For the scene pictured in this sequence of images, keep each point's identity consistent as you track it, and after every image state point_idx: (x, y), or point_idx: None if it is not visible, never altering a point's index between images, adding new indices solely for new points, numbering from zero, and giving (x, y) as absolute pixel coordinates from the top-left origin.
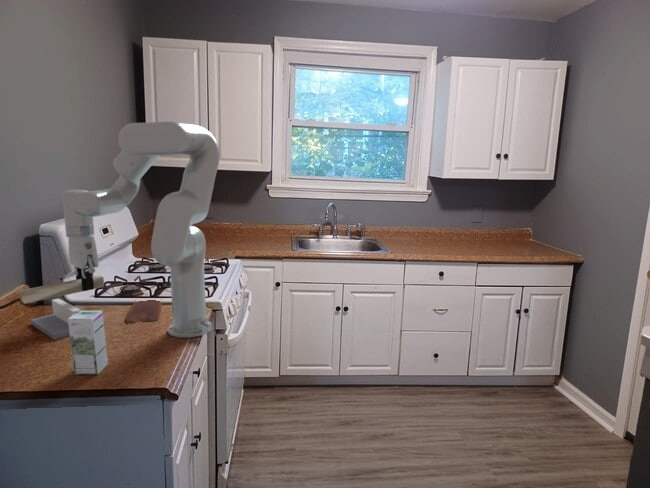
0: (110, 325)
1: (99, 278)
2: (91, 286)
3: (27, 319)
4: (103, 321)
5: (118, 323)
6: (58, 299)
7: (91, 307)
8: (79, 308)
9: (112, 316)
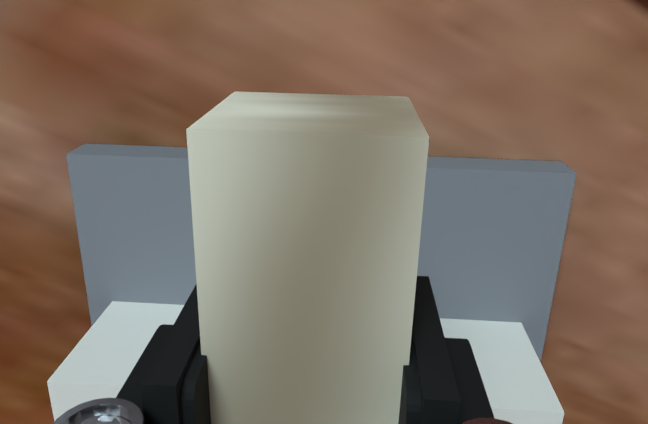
0: (603, 128)
1: (420, 219)
2: (465, 344)
3: (9, 413)
4: (574, 177)
5: (624, 61)
6: (81, 394)
7: (22, 16)
8: (89, 159)
9: (412, 6)
